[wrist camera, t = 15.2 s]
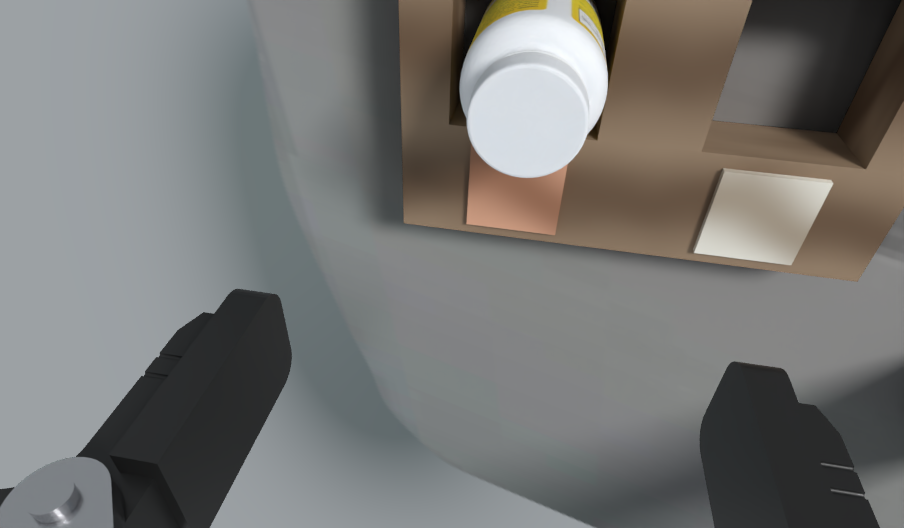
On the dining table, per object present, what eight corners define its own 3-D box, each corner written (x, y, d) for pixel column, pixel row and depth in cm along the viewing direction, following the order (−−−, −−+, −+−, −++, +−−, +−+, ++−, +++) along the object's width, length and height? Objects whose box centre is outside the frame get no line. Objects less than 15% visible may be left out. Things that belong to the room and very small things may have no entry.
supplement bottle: (466, 68, 28) (424, 163, 20) (506, -51, 24) (474, 8, 17) (570, 108, 28) (567, 217, 20) (624, -4, 24) (646, 75, 17)
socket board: (832, 239, 30) (859, 285, 27) (418, 188, 32) (402, 226, 29) (1002, -70, 21) (1071, -52, 18) (417, -105, 24) (394, -94, 21)
